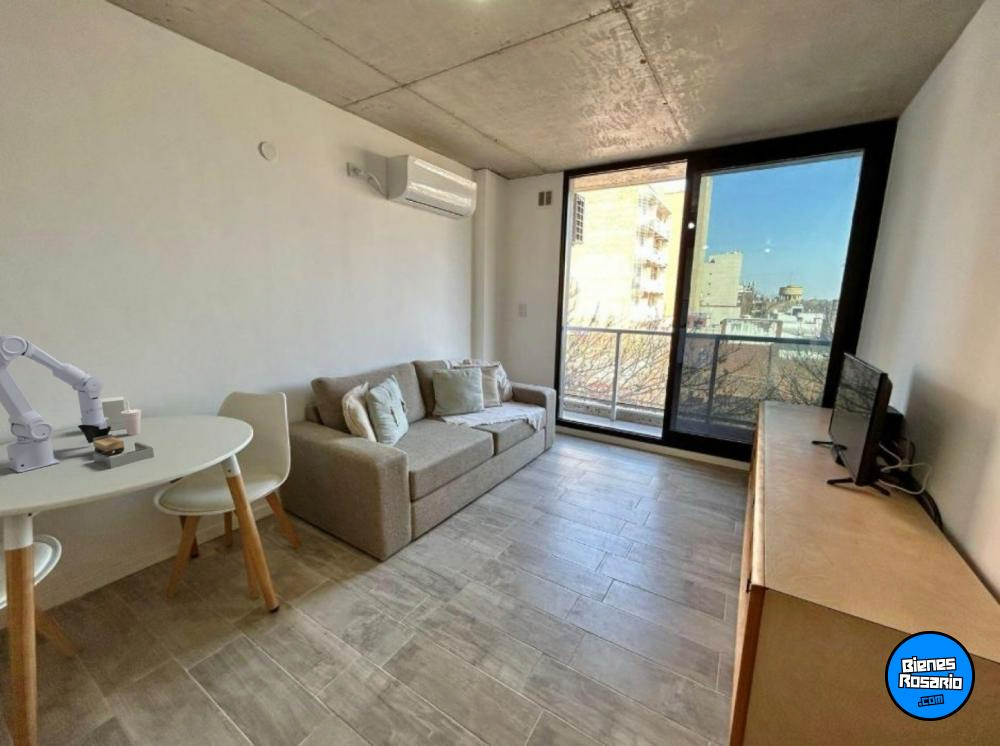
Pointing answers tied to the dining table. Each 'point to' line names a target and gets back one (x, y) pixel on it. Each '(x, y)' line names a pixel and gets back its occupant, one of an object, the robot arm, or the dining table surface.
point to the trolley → (108, 445)
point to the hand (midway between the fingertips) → (97, 443)
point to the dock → (125, 456)
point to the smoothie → (132, 420)
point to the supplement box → (114, 412)
